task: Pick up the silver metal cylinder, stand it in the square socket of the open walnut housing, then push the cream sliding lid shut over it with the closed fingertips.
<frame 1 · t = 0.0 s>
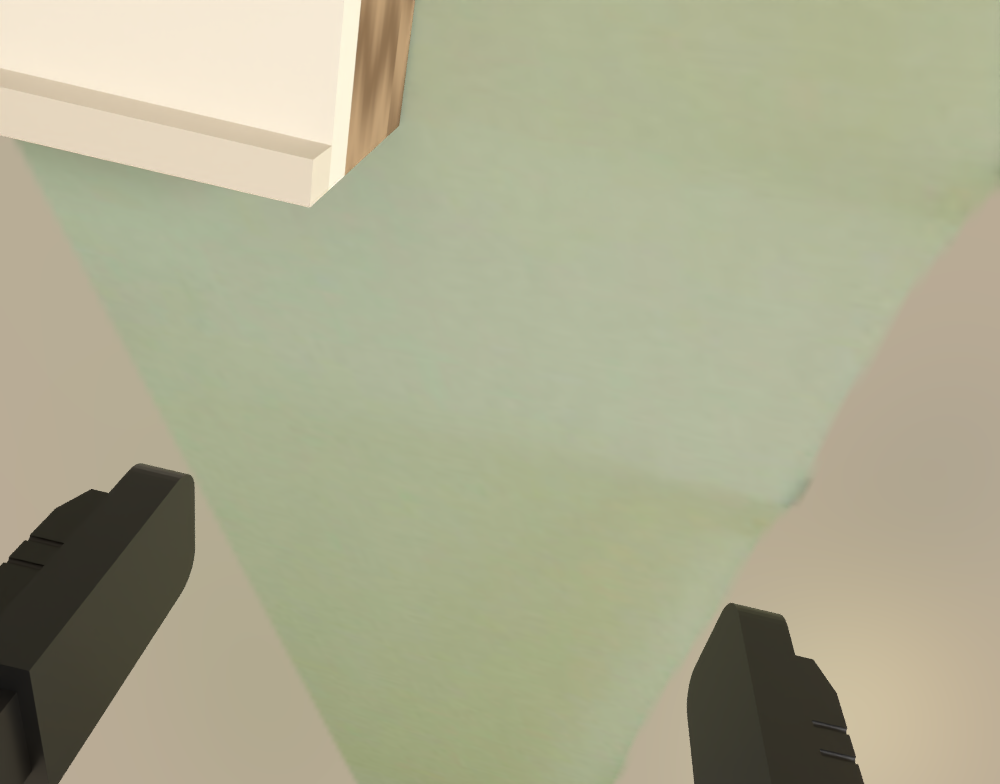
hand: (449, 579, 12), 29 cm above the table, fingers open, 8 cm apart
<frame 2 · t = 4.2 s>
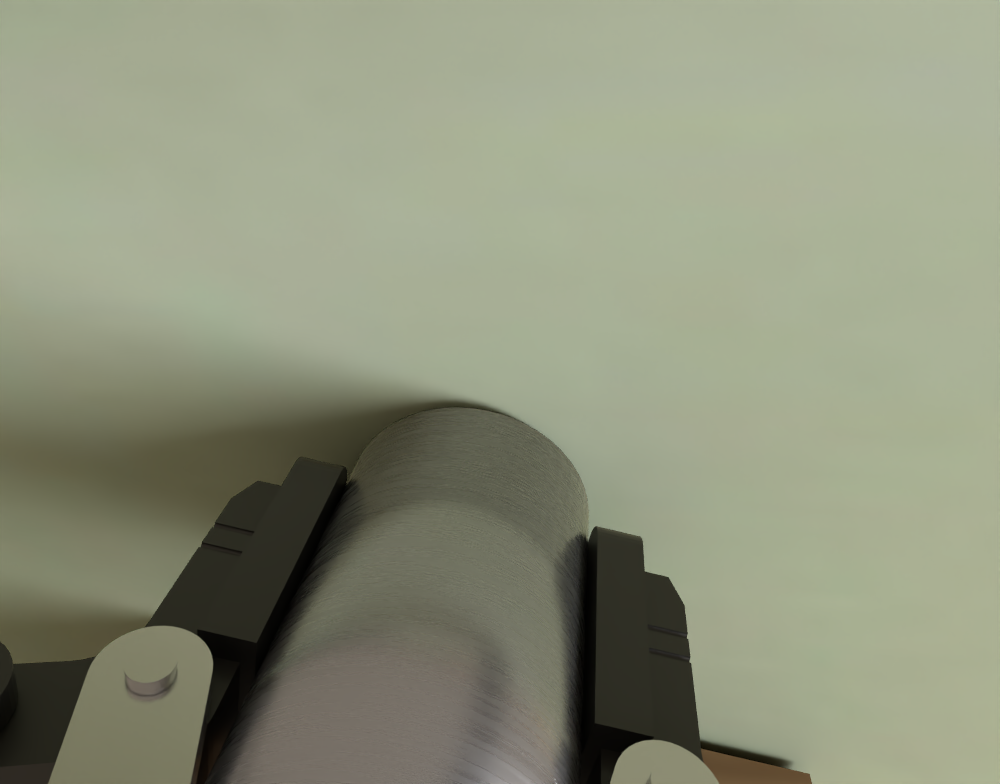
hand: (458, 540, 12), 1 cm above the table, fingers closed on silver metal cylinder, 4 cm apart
silver metal cylinder: (468, 509, 13), on the table, touching gripper
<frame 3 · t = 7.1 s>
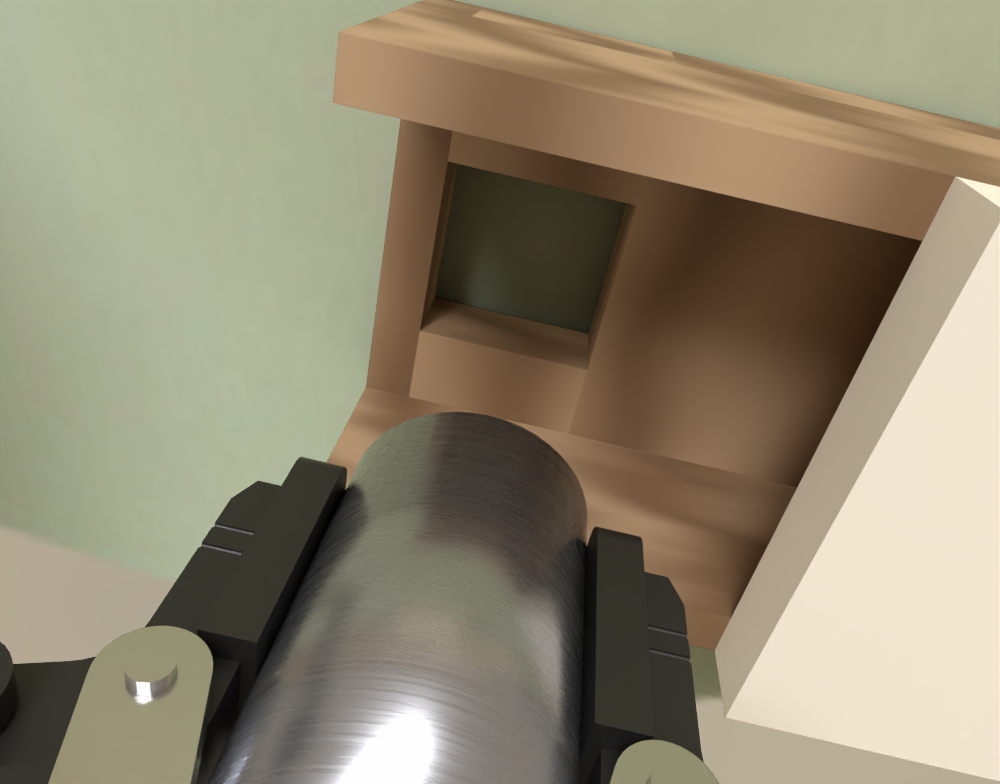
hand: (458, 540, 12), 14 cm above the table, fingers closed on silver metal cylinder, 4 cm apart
silver metal cylinder: (467, 513, 13), point 13 cm above the table, touching gripper
housing: (746, 293, 25), on the table
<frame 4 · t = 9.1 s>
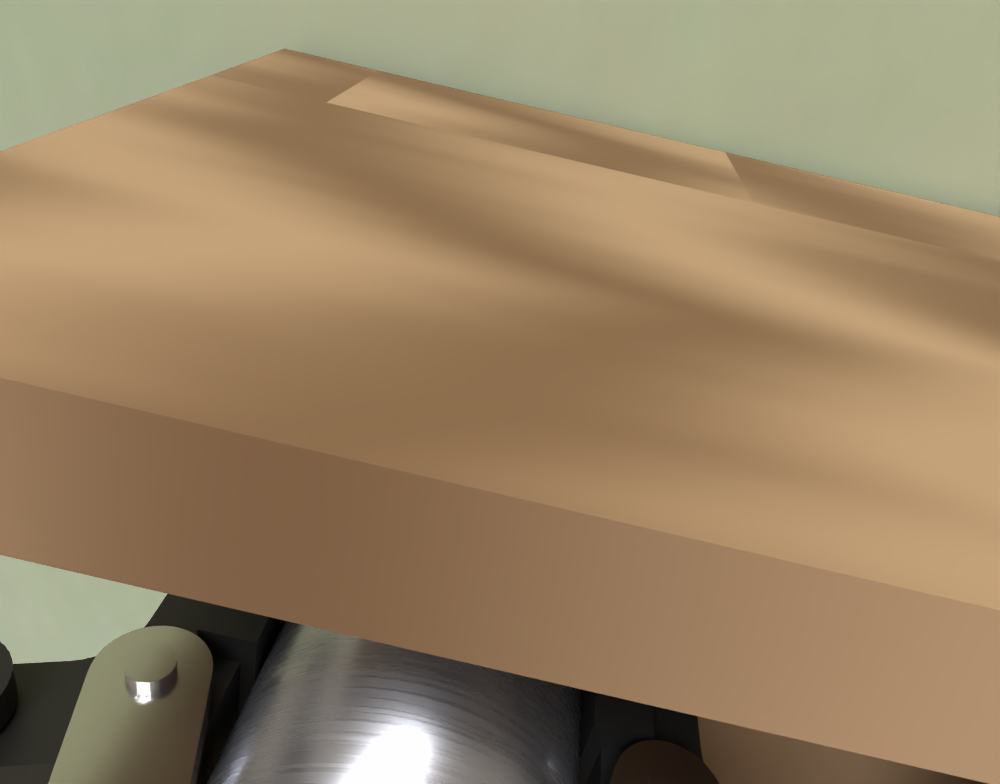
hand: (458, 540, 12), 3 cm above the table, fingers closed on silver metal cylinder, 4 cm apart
silver metal cylinder: (467, 512, 13), point 2 cm above the table, touching gripper
housing: (839, 535, 15), on the table
when the fingers open (3 cm above the table, at t = 9.9 s): silver metal cylinder drops 2 cm, resting in housing.
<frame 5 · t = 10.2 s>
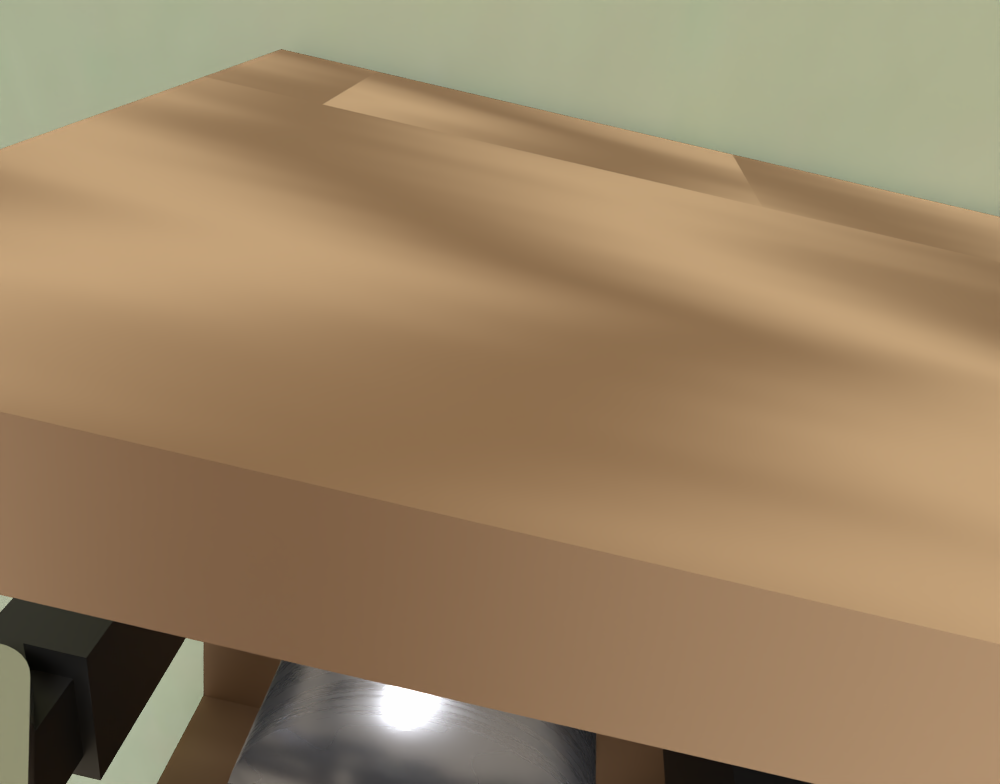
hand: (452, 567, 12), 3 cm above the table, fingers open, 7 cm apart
silver metal cylinder: (489, 461, 14), resting in housing
housing: (848, 544, 14), on the table
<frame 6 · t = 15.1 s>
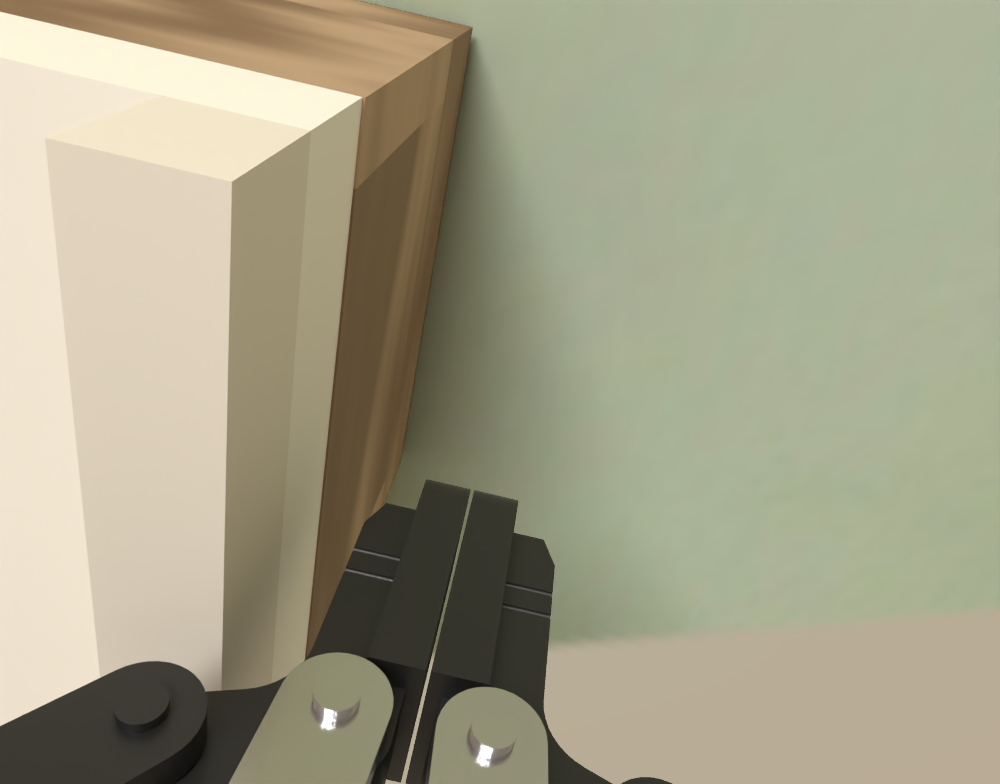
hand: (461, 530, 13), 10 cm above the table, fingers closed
housing: (29, 182, 21), on the table
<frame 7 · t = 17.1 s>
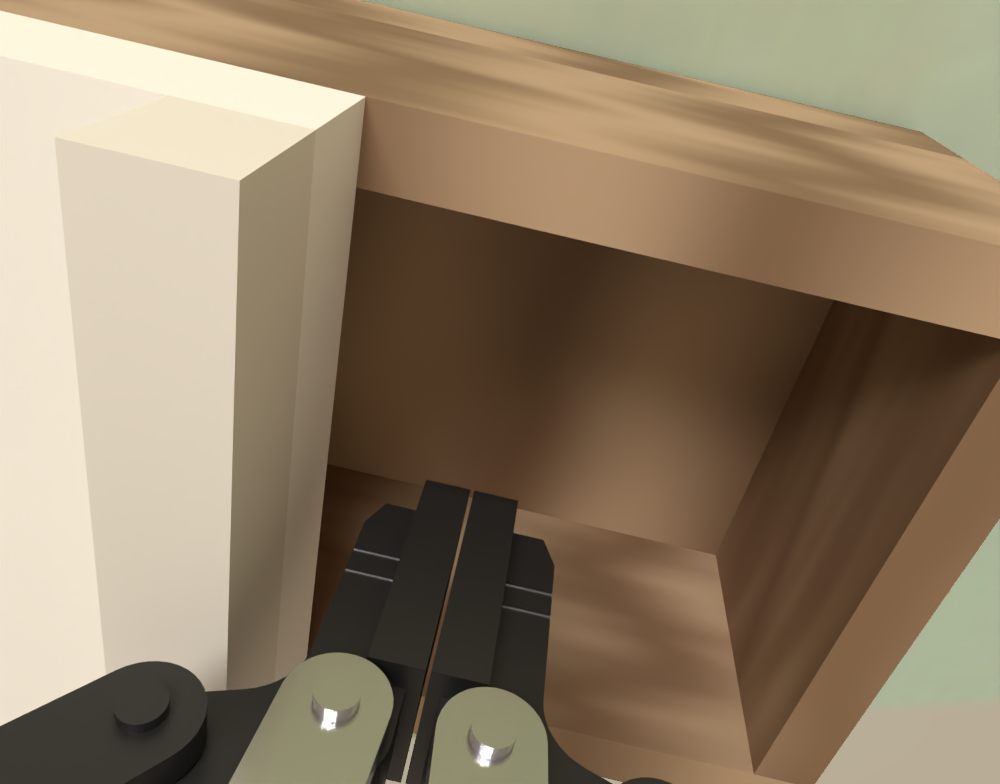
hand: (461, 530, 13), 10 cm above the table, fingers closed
housing: (410, 271, 21), on the table
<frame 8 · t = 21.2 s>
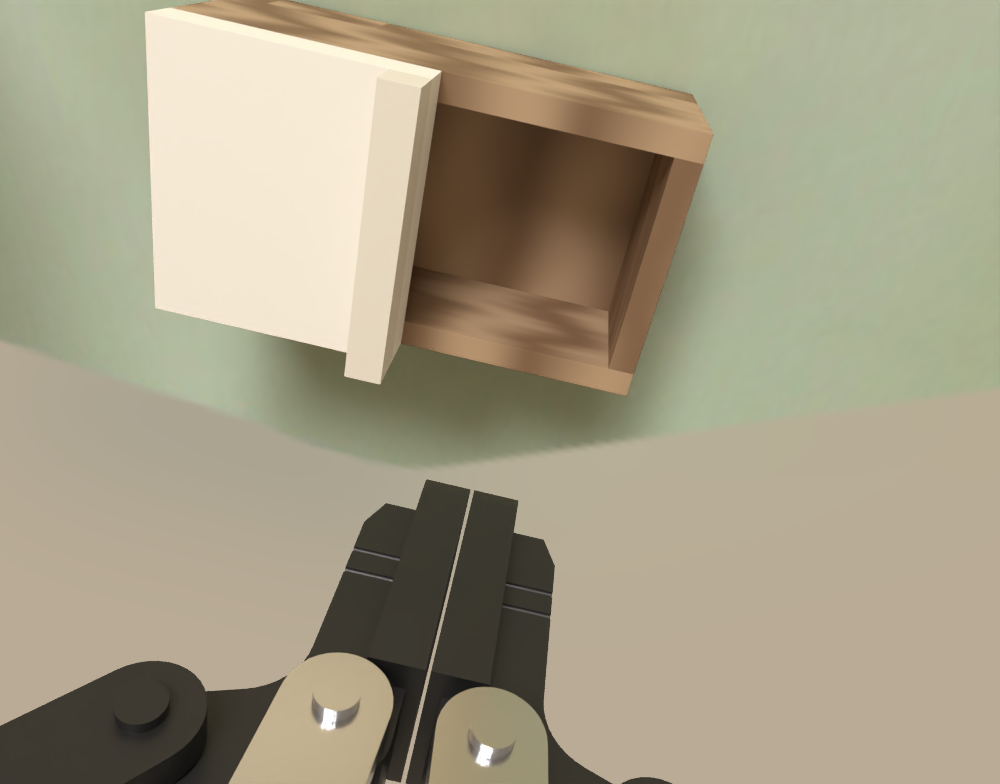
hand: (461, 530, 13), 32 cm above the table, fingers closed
housing: (454, 167, 42), on the table
lid: (280, 204, 32), point 11 cm above the table, slide at 0.0 cm
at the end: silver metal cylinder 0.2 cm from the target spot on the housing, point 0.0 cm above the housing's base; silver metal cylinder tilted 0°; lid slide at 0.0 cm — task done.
